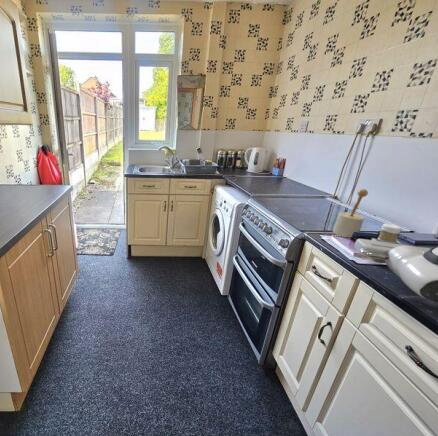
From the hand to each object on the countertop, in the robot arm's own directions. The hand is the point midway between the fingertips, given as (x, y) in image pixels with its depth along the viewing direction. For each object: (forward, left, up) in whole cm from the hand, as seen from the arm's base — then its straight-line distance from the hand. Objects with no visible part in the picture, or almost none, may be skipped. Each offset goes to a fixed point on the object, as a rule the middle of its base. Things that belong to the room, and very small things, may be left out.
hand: (384, 241), depth 85 cm
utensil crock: (+2, -25, -8) cm, 26 cm away
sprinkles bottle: (0, +1, -7) cm, 7 cm away
